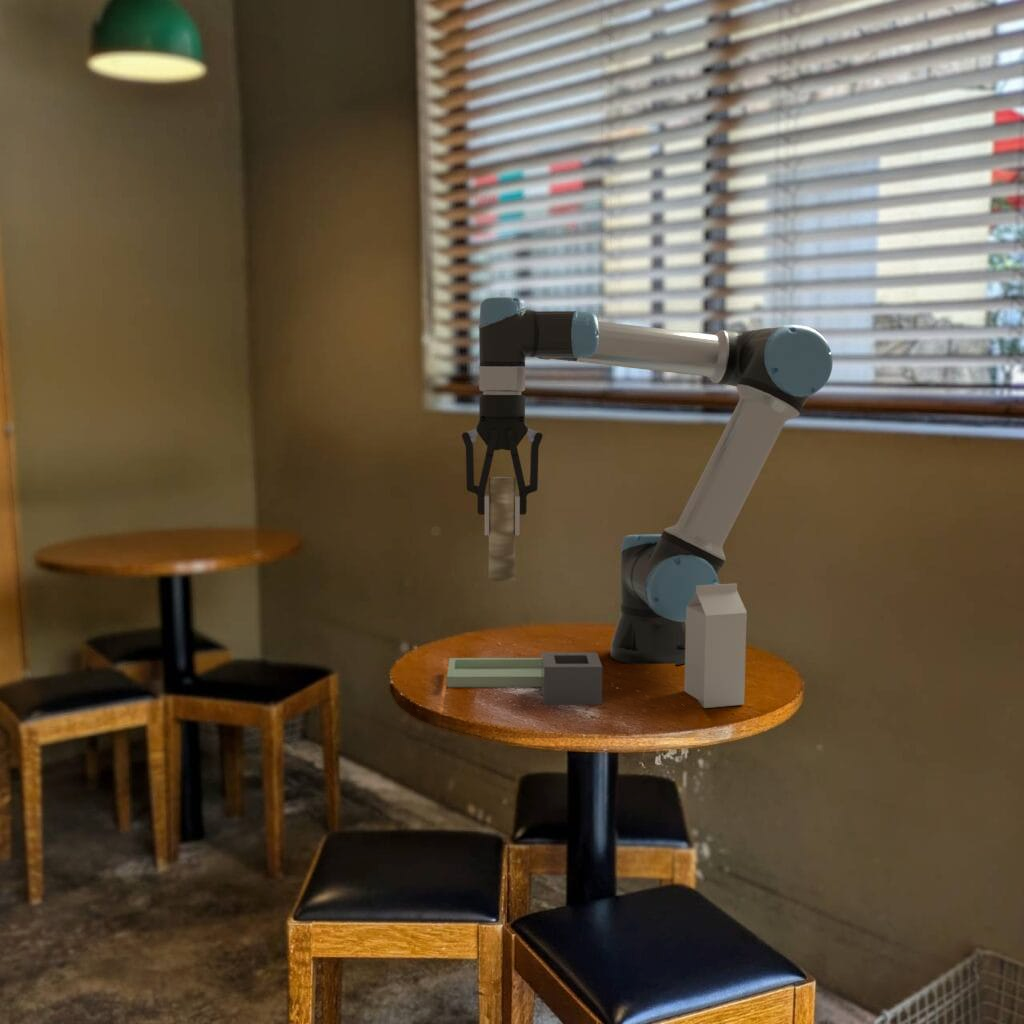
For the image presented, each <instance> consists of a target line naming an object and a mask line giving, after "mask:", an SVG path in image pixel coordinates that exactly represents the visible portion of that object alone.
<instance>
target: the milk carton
mask: <svg viewBox="0 0 1024 1024" xmlns="http://www.w3.org/2000/svg"><path fill="white" fill-rule="evenodd" d="M742 600H743V599H741V596H740V594H739V592H738V583H723V584H721V583H719V584H718V585H700V586H696V593H695V594H694V596H693V597H692V599H691V600H690V602H689V603H688V604H687V606H686V621H685V623H686V641H685V663H684V690H683V691H684V692H685V693H687V694H688V695H690V696H691V697H693V698H694V699H697V701H698V703H699V704H700V706H701V707H702V708H703V709H709V708H711V709H712V708H719V707H720V708H721V707H731V706H743V705H744V704H745V689H746V688H745V683H746V681H745V680H746V679H745V678H746V677H745V676H746V655H747V654H746V653H747V648H746V647H747V620H748V619H747V614H748V612H747V609H746V607H745V605H744V603H743V601H742Z"/></svg>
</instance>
